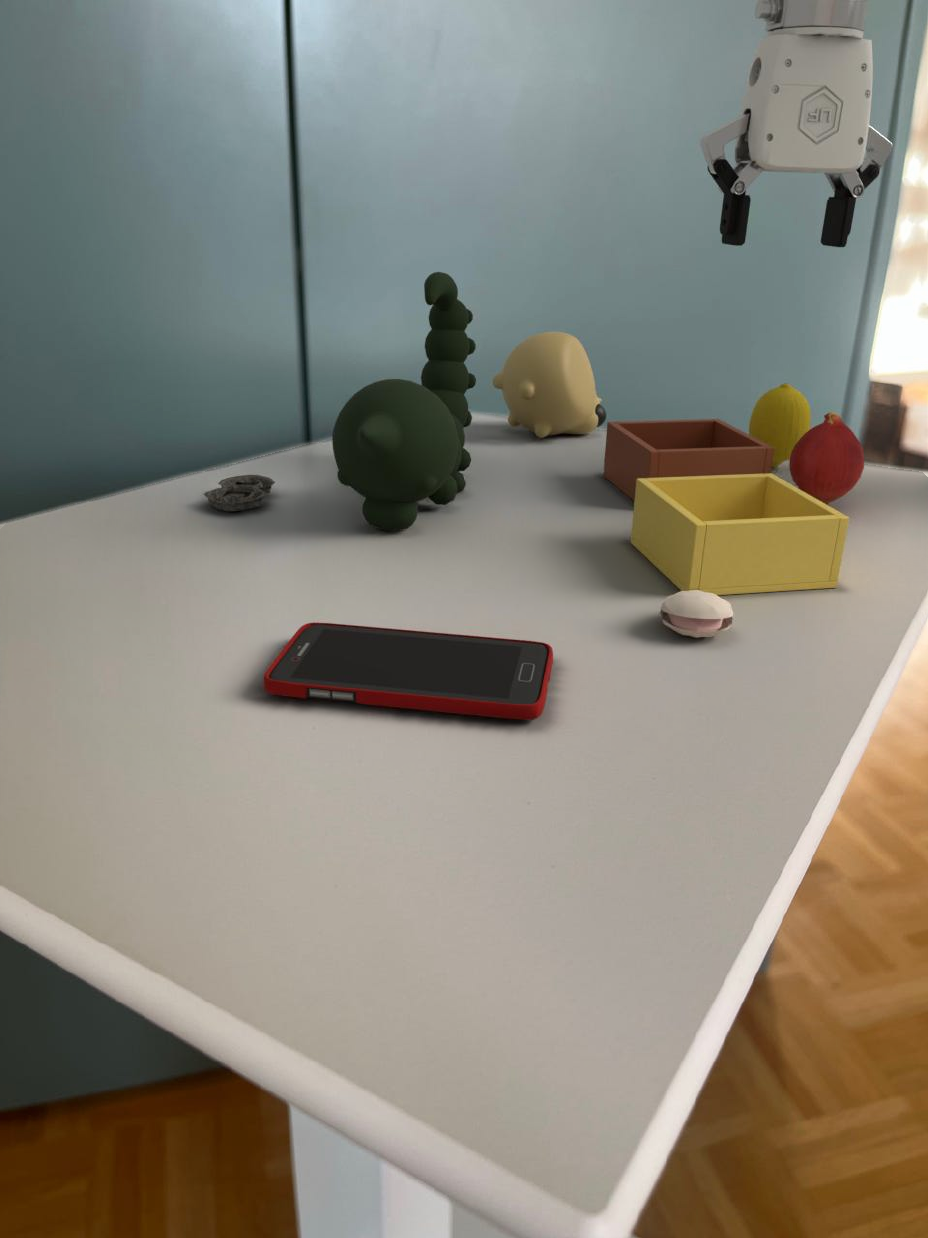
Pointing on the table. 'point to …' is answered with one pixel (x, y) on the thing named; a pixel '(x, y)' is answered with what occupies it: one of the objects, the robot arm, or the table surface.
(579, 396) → the toy pig
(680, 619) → the macaroon
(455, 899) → the table surface
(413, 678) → the cell phone
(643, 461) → the brown bin
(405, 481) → the toy figurine
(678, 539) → the yellow bin
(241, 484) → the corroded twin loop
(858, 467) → the onion
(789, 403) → the lemon
